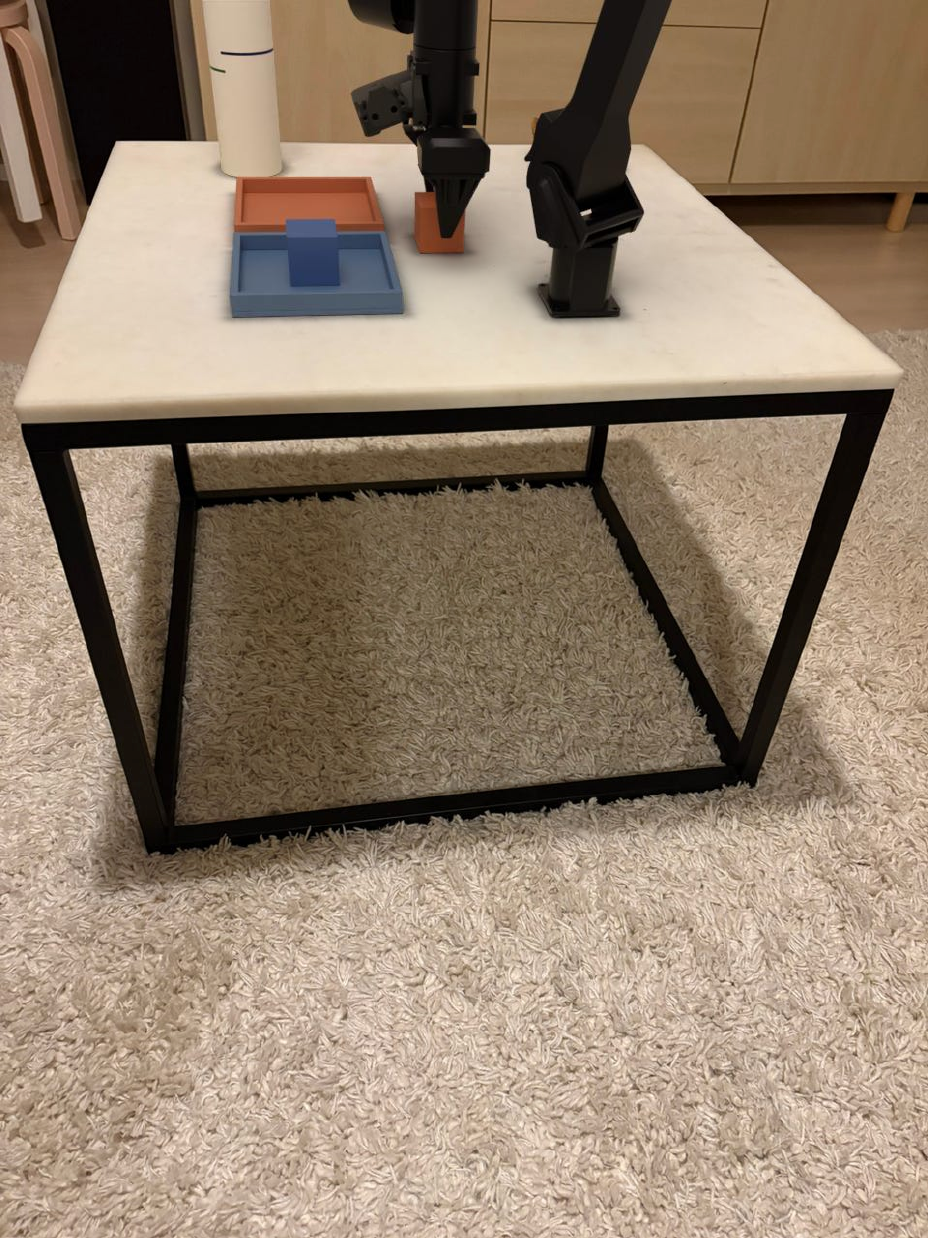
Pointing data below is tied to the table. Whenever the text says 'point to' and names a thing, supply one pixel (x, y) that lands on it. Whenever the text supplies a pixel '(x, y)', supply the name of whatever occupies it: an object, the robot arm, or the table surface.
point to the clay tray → (306, 203)
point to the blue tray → (268, 290)
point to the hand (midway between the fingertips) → (439, 221)
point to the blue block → (313, 252)
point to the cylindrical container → (244, 86)
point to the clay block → (434, 227)
